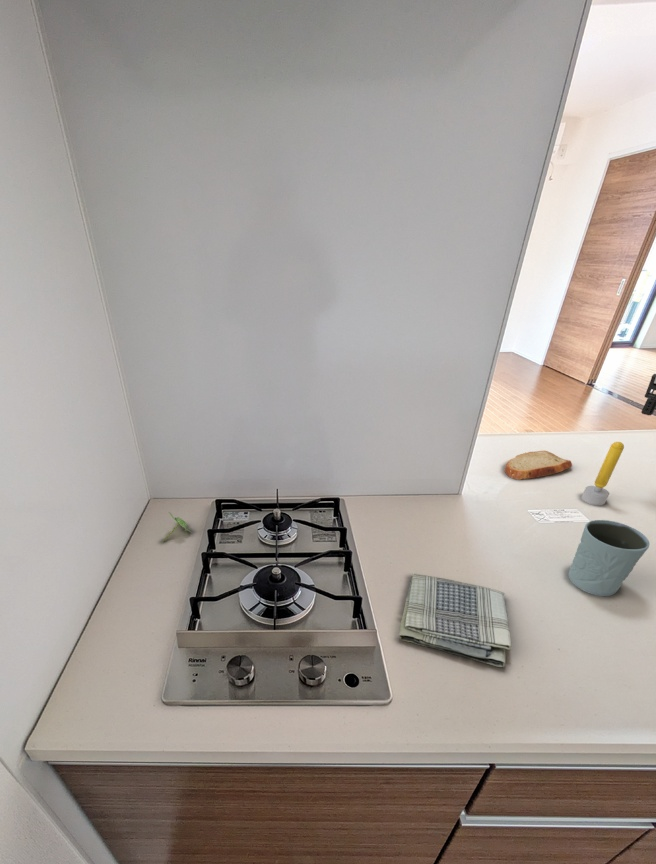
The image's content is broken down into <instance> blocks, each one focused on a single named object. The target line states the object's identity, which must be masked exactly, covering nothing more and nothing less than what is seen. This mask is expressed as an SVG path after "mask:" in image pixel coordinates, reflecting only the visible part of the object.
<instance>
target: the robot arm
mask: <svg viewBox="0 0 656 864" xmlns="http://www.w3.org/2000/svg"><path fill="white" fill-rule="evenodd" d="M655 391H656V373H653V374H652V375H651V378H650V381H649V383H648V386H647V389H646V392H645V394H644V398H646V401H645V403H644V405H643V407H642V409H641V412H640V413H641V414H642V415H645V416H652V415H654V412H655V411H656V393H654V392H655Z"/></svg>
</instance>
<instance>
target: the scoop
mask: <svg viewBox="0 0 656 864" xmlns="http://www.w3.org/2000/svg"><path fill="white" fill-rule="evenodd" d="M624 448H625V445H624V443H623V442H621V441H614V442H612V444H611V445H610V447H609V449H608V451H607V453H606V456H605V458H604V460H603V463H602V464H601V467H600V469H599V471H598V473H597V476H596V477H595V480H594V485H587V486H586V487H585V488H584V491H583V492H582V495H581V500H582V501H583V502H585V503H587V504H589V505H592V506H604V505H605V504H606V502H607V500H608V498H609V495H610V492H609V490H607V489H606V488H605V487H607V486H608V483H609V481H610V479H611V476H612V474H613V472H614V470H615V469H616V466H617V464H618V461H619V460H620V457H621V456H622V453H623V452H624Z"/></svg>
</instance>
